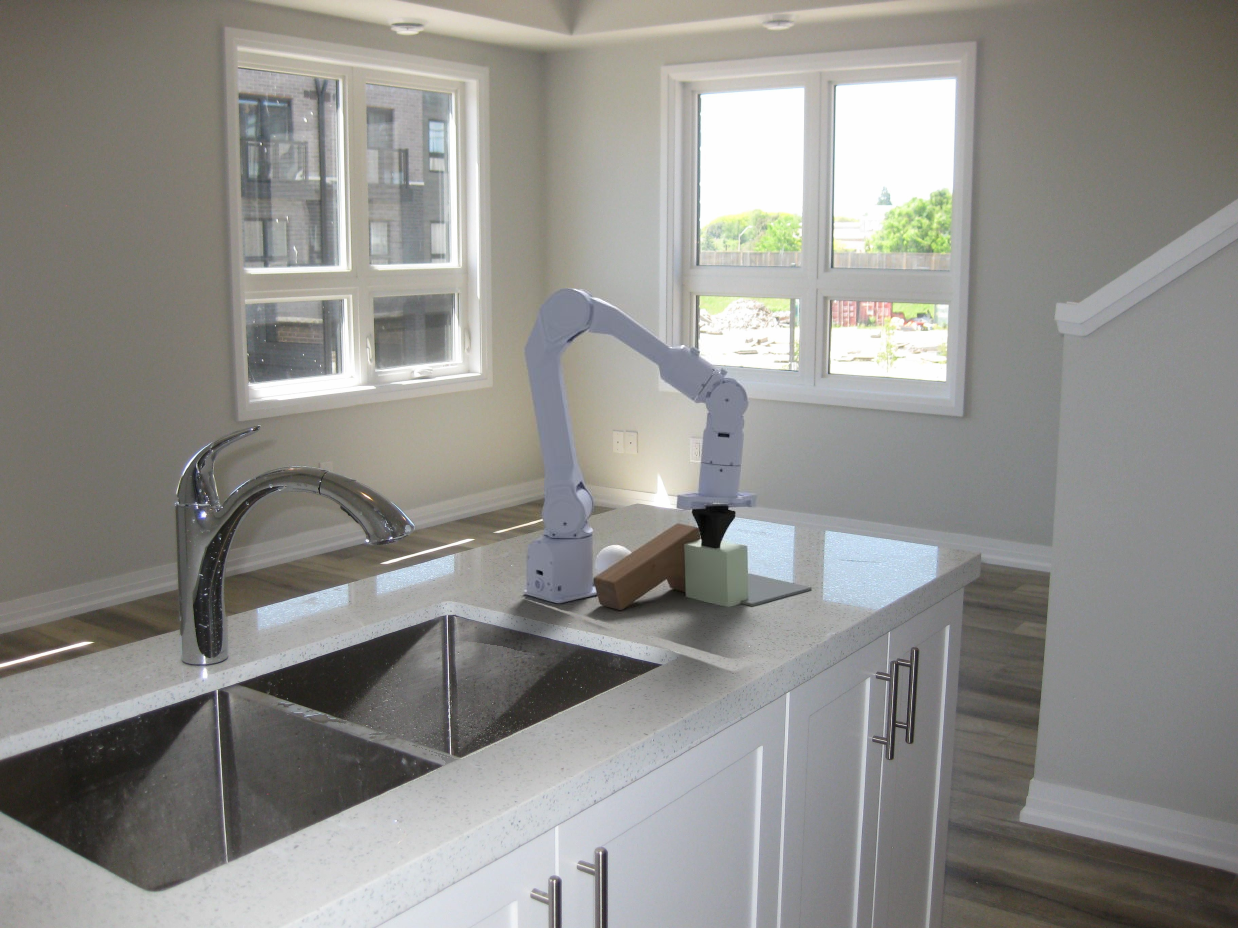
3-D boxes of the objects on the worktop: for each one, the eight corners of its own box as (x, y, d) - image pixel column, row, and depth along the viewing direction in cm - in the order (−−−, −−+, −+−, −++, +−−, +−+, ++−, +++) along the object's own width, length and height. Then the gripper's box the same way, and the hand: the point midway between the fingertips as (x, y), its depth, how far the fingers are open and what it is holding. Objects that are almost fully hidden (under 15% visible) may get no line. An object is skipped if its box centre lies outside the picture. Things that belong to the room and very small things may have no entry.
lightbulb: (660, 539, 180) (605, 536, 173) (671, 574, 177) (616, 573, 170) (637, 558, 184) (582, 556, 177) (648, 592, 181) (593, 591, 174)
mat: (751, 606, 162) (751, 603, 162) (688, 590, 170) (688, 588, 170) (811, 589, 171) (811, 587, 171) (749, 575, 180) (749, 573, 180)
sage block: (727, 607, 161) (726, 552, 160) (685, 597, 167) (684, 543, 166) (748, 600, 164) (747, 546, 163) (706, 590, 170) (705, 537, 169)
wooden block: (711, 580, 171) (628, 640, 160) (689, 575, 174) (606, 633, 163) (699, 526, 168) (613, 583, 157) (676, 521, 171) (591, 577, 160)
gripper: (706, 467, 155) (697, 566, 156) (775, 466, 165) (767, 560, 166) (669, 461, 160) (661, 557, 161) (739, 461, 170) (730, 551, 171)
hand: (712, 558), depth 164 cm, fingers closed, pressing on sage block
